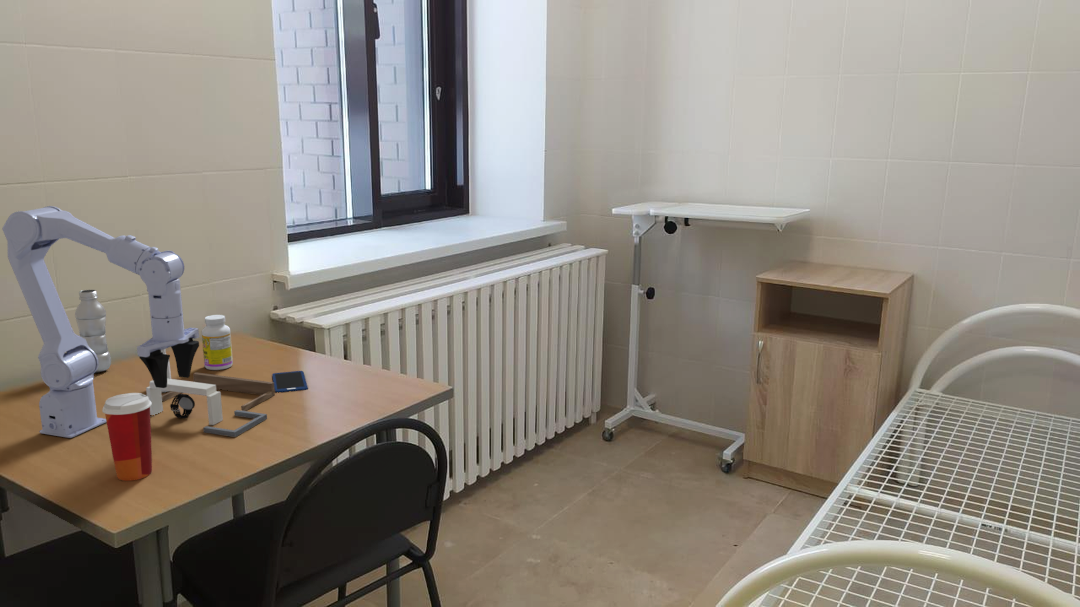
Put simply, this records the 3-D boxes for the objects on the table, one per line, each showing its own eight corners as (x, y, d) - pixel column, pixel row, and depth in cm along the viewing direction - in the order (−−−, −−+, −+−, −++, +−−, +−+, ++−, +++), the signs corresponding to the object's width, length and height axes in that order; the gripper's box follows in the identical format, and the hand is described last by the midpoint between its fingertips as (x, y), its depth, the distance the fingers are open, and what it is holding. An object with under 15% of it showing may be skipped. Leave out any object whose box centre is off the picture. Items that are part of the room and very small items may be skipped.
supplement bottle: (205, 363, 206) (201, 314, 203) (233, 361, 208) (229, 312, 205) (203, 371, 200) (199, 321, 197) (232, 369, 202) (228, 319, 199)
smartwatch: (198, 416, 172) (196, 393, 171) (176, 423, 168) (173, 400, 167) (187, 411, 174) (185, 389, 173) (164, 418, 170) (162, 396, 169)
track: (212, 428, 165) (211, 414, 165) (128, 415, 171) (127, 402, 171) (274, 395, 185) (273, 382, 184) (197, 384, 191) (196, 372, 190)
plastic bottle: (82, 369, 201) (72, 289, 196) (113, 366, 203) (104, 287, 199) (80, 377, 195) (70, 295, 190) (111, 373, 198) (102, 292, 193)
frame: (235, 437, 161) (234, 432, 161) (203, 432, 163) (203, 427, 163) (267, 418, 171) (266, 414, 171) (237, 414, 173) (236, 409, 173)
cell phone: (275, 394, 186) (274, 391, 186) (272, 375, 199) (271, 373, 199) (308, 391, 189) (308, 388, 189) (303, 373, 202) (303, 370, 201)
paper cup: (145, 461, 150) (138, 388, 147) (166, 473, 145) (159, 398, 142) (101, 475, 144) (92, 400, 141) (121, 488, 139) (112, 410, 136)
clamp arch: (213, 425, 167) (210, 390, 165) (148, 415, 172) (145, 381, 170) (222, 420, 170) (220, 385, 168) (159, 410, 174) (155, 376, 173)
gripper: (156, 326, 150) (163, 396, 153) (209, 308, 164) (214, 373, 167) (125, 322, 152) (132, 391, 155) (180, 305, 166) (185, 369, 169)
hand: (172, 381), depth 161 cm, fingers open, 6 cm apart
